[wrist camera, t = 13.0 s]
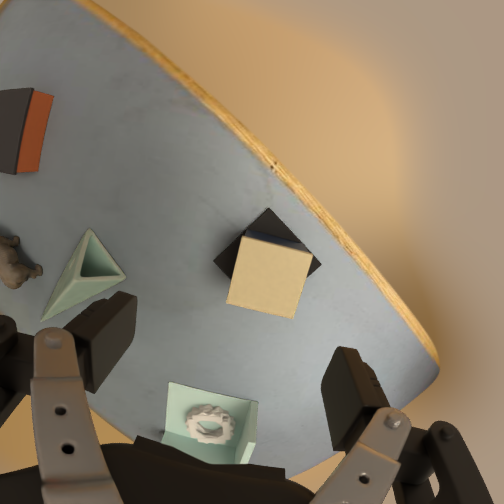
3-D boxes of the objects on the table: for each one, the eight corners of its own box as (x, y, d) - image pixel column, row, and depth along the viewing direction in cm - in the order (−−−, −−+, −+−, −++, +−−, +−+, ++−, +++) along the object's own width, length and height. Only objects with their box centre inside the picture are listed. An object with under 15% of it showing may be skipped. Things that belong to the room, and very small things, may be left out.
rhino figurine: (-4, 204, 32) (-32, 210, 26) (46, 267, 33) (18, 281, 28) (-11, 225, 33) (-38, 233, 27) (37, 287, 34) (10, 302, 28)
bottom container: (17, 96, 28) (-6, 91, 23) (55, 94, 28) (31, 87, 23) (3, 166, 30) (-21, 168, 25) (38, 173, 30) (13, 174, 25)
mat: (213, 260, 32) (213, 261, 31) (269, 207, 30) (269, 208, 30) (265, 311, 33) (265, 313, 33) (321, 263, 31) (321, 264, 31)
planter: (73, 359, 36) (125, 303, 30) (34, 344, 32) (72, 278, 26) (79, 315, 42) (131, 250, 35) (45, 299, 38) (87, 226, 31)
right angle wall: (258, 402, 36) (255, 443, 29) (240, 452, 39) (236, 488, 32) (169, 381, 36) (152, 418, 29) (165, 434, 39) (152, 469, 32)
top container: (246, 227, 30) (242, 236, 26) (306, 242, 31) (313, 255, 26) (231, 284, 32) (225, 303, 27) (289, 298, 32) (292, 319, 27)
